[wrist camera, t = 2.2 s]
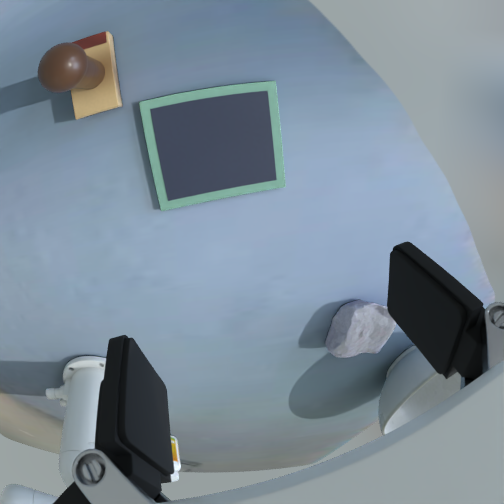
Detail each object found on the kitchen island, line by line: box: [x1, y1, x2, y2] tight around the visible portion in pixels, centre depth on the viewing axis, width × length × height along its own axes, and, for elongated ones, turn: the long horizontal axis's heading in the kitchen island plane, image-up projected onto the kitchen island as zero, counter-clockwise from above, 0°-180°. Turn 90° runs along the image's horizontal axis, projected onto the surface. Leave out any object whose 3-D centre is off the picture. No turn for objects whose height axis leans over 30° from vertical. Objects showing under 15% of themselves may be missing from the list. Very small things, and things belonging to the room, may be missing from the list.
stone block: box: [325, 300, 396, 358], centre depth 48 cm, size 12×5×10 cm
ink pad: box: [139, 81, 286, 211], centre depth 31 cm, size 14×12×1 cm
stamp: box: [38, 31, 123, 120], centre depth 19 cm, size 8×4×12 cm, turn 7°
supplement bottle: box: [171, 436, 181, 482], centre depth 50 cm, size 5×5×10 cm
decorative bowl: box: [379, 345, 461, 435], centre depth 56 cm, size 27×27×12 cm
